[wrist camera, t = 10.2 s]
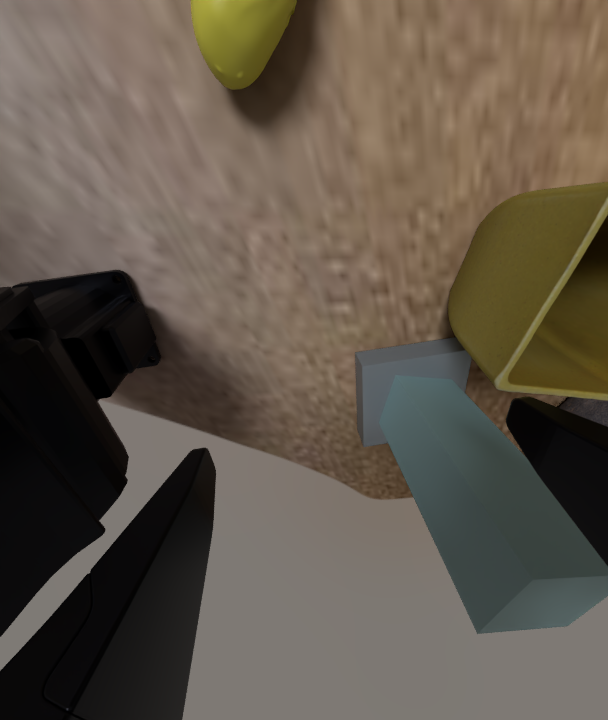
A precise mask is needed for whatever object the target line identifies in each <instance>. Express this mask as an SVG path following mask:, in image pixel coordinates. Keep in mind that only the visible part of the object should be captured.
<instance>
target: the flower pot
mask: <svg viewBox="0 0 608 720" xmlns="http://www.w3.org/2000/svg"><path fill="white" fill-rule="evenodd" d="M448 316H449V321H450V325H451V328H452V330H453V332H454V335H455V336H456V338H457V339H458V341H459V342H460V343H461V345H462V346H463V347H464V349H465V350H466V351H467V353H468V354H469V355H470V356H471V358H472V359H473V360H474V361H475V362H476V364H477V365H478V366H479V367H480V369H481V370H482V371H483V372H484V374H485V375H486V376H487V377H488V379H489V380H490V381H491V382H492V384H493V385H494V386H495V388H496V389H497V390H501V391H508V392H521V393H531V394H546V395H556V396H566V397H576V398H587V399H597V400H605V401H608V182H602V183H594V184H585V185H577V186H569V187H560V188H552V189H544V190H537V191H531V192H526V193H523V194H519V195H517V196H514V197H512V198H510V199H508V200H506V201H504V202H502V203H501V204H499V205H498V206H497V207H496V208H494V209H493V210H492V211H491V212H490V213H489V214H488V215H487V216H486V217H485V219H484V220H483V221H482V222H481V223H480V225H479V227H478V229H477V231H476V234H475V236H474V238H473V241H472V243H471V245H470V248H469V250H468V252H467V255H466V257H465V259H464V262H463V264H462V266H461V268H460V271H459V273H458V275H457V278H456V280H455V282H454V284H453V286H452V288H451V291H450V296H449V303H448Z"/></svg>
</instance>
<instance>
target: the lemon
mask: <svg viewBox="0 0 608 720" xmlns="http://www.w3.org/2000/svg"><path fill="white" fill-rule="evenodd" d="M296 3H297V0H191V14H192V21H193V27H194V32H195V36H196V40H197V43H198V46H199V48H200V51H201V53H202V55H203V57H204V59H205V61H206V63H207V65H208V67H209V68H210V70H211V71H212V73H213V74H214V76H215V77H216V78H217V79H218V80H219V81H220V82H221V83H222V85H223V86H225V87H227V88H229V89H232V90H234V89H243V88H245V87H247V86H249V85H251V84H252V83H253V82H254V81H255V80H256V79H257V78H258V77H259V76H260V74H261V73H262V71H263V70H264V68H265V66H266V64H267V62H268V61H269V59H270V57H271V55H272V53H273V51H274V50H275V48H276V46H277V45H278V43H279V41H280V39H281V37H282V35H283V33H284V30H285V29H286V27H287V26H288V23H289V20H290V16H291V15H293V13H294V10H295V6H296Z"/></svg>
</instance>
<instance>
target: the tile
mask: <svg viewBox="0 0 608 720" xmlns="http://www.w3.org/2000/svg"><path fill="white" fill-rule="evenodd" d="M471 360H472V358H471V356H470V355H469V354H468V353H467V351H466V350H465V349H464V347H463V346H462V345H461V343H460V342H459V341H458V339H457V338H456V337H454V338H447V339H441V340H434V341H428V342H421V343H414V344H408V345H401V346H395V347H388V348H382V349H375V350H369V351H362V352H355V365H356V399H357V430H358V433H359V436H360V439H361V441H362V444H363V447H367V446H373V445H379V444H385V443H388V442H387V439H386V437H385V435H384V433H383V431H382V429H381V427H380V424H379V421H380V418H381V415H382V412H383V409H384V406H385V404H386V401H387V398H388V395H389V392H390V389H391V387H392V384H393V381H394V378H395V375H398V376H412V377H426V378H440V379H452V380H453V381H454V382H455V383H456V384H457V385H458V386H459V387H460V388H461V390H462V391H463V392H464V393H465V389H466V384H467V379H468V374H469V370H470V365H471Z"/></svg>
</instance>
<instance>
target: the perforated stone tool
mask: <svg viewBox="0 0 608 720" xmlns="http://www.w3.org/2000/svg"><path fill="white" fill-rule="evenodd" d="M559 408H560V409H563V410H566V411H568V412H571V413H573V414H576V415H579V416H581V417H584V418H587V419H589V420H592V421H594V422H597V423H600V424H602V425H605V426H607V427H608V401H605V400H597V399H587V398H576V397H569V398H568V399H567V400H566V401H565V402H564V403H563V404H562V405H561V406H560V407H559Z"/></svg>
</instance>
